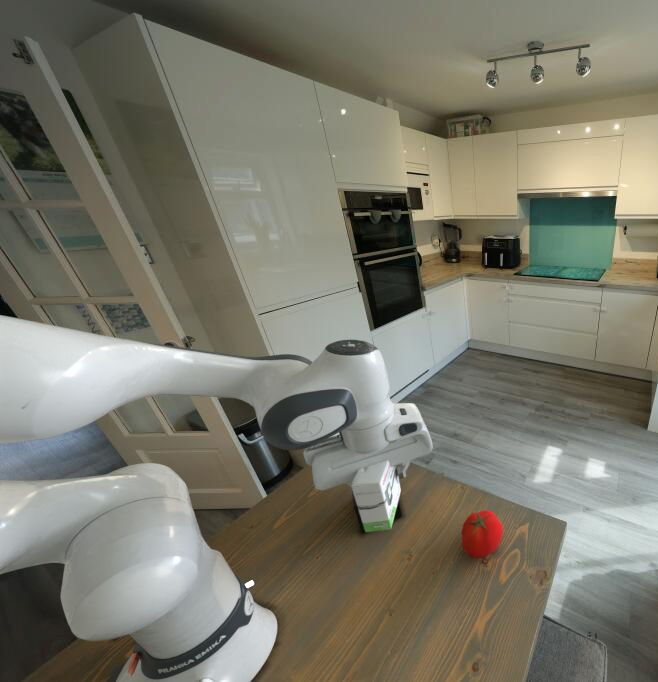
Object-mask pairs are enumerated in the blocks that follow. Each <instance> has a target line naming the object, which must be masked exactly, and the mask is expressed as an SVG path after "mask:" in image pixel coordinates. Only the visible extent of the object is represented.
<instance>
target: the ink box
mask: <svg viewBox="0 0 658 682" xmlns="http://www.w3.org/2000/svg"><path fill="white" fill-rule="evenodd" d="M396 468H397V465H395V466H392V467H390V464H389V461H388V460H387V461H384V462H381V463H378V464H375V465H371V466H368V467H367V468H364V469H363V468H362V469H359V470H358V471H357V473H356V475H355V478H354V480H353V482H352V486H351V487H350V488H351V491H353V493H352V495H353V494H354V497H355V500H356V504H357V507H358V510H359V513H360V516H361V520H362V523H363V526H364V529H365V532H366V533H371V532H381V531H388V530H392V527H393V524H394V521H395V520H394V516H395V512H396V508H397V504H398V500H399V501H400V496H401V492H402V490H401V489H402V488H401V484H400V479H398V475H397V470H396Z"/></svg>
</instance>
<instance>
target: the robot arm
mask: <svg viewBox="0 0 658 682" xmlns="http://www.w3.org/2000/svg"><path fill="white" fill-rule="evenodd" d="M390 391H391V384H390V379H389V374H388V370H387V367H386V363H385V360H384V356H383V355H382V352H381V351H380V349H379V348H378V347H377V346H375V345H374V344H373V343H370V342H368V341H367V340H366V341H365V340H359V339H341V340H337V341H336V340H335V341H334V342H331V343H328V344H327V345H326V346H325V347H324V349H323V351H322V352H321V353H320V354H319V355H318V356H317V358H315V359H314V360H313V361H311V360H310V359H309V358H307V357H305V356H302V355H299V354H298V355H297V354H293V353H292V354H290V353H283V354H281V353H280V354H272V355H267V356H266V355H263V356H244V355H237V354H229V353H222V352H215V351H210V350H203V349H195V348H188V347H181V346H175V345H168V344H159V343H152V342H151V343H150V342H144V341H143V342H142V341H137V340H133V339H126V338H120V337H116V336H108V335H103V334H97V333H93V332H89V331H88V332H87V331H82V330H78V329H73V328H69V327H63V326H58V325H53V324H48V323H43V322H39V321H32V320H29V319H24V318H18V317H13V316H7V315H1V314H0V445H1V444H14V443H15V444H16V443H25V442H33V441H43V440H48V439H49V440H50V439H53V438H56V437H59V436H62V435H67V434H69V433H71V432H73V431H76V430H78V429H82V428H83V427H85V426H87V425H90V424H91V423H94V422H95V421H98V420H99V419H100V418H102V417H104V416H105V415H107V414H109V413H110V412H112V411H114V410H116V409H118V408H120V407H122V406H125V405H127V404H129V403H132V402H135V401H138V400H142V399H146V398H151V397H155V396H156V397H157V396H188V397H204V398H205V397H208V398H224V399H225V398H226V399H227V398H228V399H237V400H241V401H242V402H245V403H247V404H249V405H250V406H251V407H253V409H254V412H255V417H256V420H257V423H258V426H259V429H260V431H261V435H262V438H263V439H264V440H265V441H266V442H267V443H268V445H270V446H272V447H274V448H276V449H279V450H282V451H283V450H284V451H300V450H304V451H303V453H302V456H303V459H304V462H305V463H306V464H307V466H309V467H311V475H312V481H313V486H314V488H315V490H318V491H321V492H323V491H326V490H330V489H332V488H335V487H338V486H341V485H344V484H346V485H347V487H350V488H352V487H351V486H352V482H353V480H354V478H355V475H356V473H357V471H358V470H359V469H362V468H363V469H364V468H367V467H368V466H371V465H375V464H378V463H381V462H384V461H387V460H388V461H389V464H390V467H392V466H395V465H396V470H397V475H398V479H399V480H402V479H404V478H407V473H406V472H407V470H408V468H409V466H410V464H411V461H413V460H415V459H419V458H421V457H424V456H427V455H429V454H431V452H432V451H433V449H434V445H433V440H432V437H431V434H430V432H429V430H428V426H427V425H426V422H425V421H424V419H423V416H422V414H421V411H420V410H419V408H418V406H417V405H416V404H415V403H413V402H410V403H409V402H407V403H406V402H400V403H399V402H393V400H392V399H391V397H390ZM340 431H341V434H339V432H340ZM398 465H399V466H398ZM195 513H196V512H195V511H194V509H193V505H192V500H191V497H190V493H189V489H188V486H187V484H186V482H185V481H184V480H183V479H182V478H181V476H180V475H179V474H178V473H176V471H174V470H173V468H171V467H169V466H167V465H164V464H161V463H157V462H156V463H155V462H142V463H135V464H130V465H126V466H124V467H120V468H117V469H116V470H112V471H111V472H109V473H106V474H99V475H92V476H81V477H73V478H60V479H58V478H57V479H40V480H39V479H38V480H34V479H33V480H18V479H17V480H15V479H0V575H3V574H5V573H9V572H12V571H17V570H20V569H25V568H30V567H34V566H35V567H36V566H39V565H44V564H45V565H46V564H54V563H56V564H62V565H64V568H63V576H62V581H61V582H62V583H61V589H60V602H61V606H62V610H63V613H64V616H65V619H66V622H67V625H68V626H69V629H70V631H71V633H72V634H73V635H74V636H75V637H76V638H78V639H81V640H83V641H88V642H101V641H103V642H104V641H109V640H114V639H117V638H118V639H119V638H121V637H125V636H130V637H131V638H132V639H133V640H134V641H135V643H134V646H133V648H132V651H131V653H132V654H131V655H130V657H128V659H127V661H126V663H124V664H121V665H118V666H115V667H114V668H113V670H112V672H111V674H110V675H109V678H108V679H107V681H106V682H252V680H253V679H254V678H255V677H256V675H257V674H258V673H259V672H260V671H261V669H262V667H263V666H264V665H265V663H266V661H267V660H268V658H269V656H270V655H271V652H272V650H273V647H274V645H275V642H276V638H277V635H278V621H277V617H276V615H275V614H274V612H273V611H272V610H271V609H269V608H266V607H264V606H261V605H260V604H258V603H257V602H255V601H254V599H253V595H252V593H251V591H250V590H249V588H250V587H252V586H254V585H255V582H254V581H253V580H250V581H248V582H246V583H245V582H244V581H243V580H242V578H241V577H240V576H239V575H237V574H235V573H234V572H233V570H232V569H231V567H230V565H229V564H228V562H227V560H226V559H225V557H224V556H223V554H222V553H221V552H220V551H218V550H216V549H214V548H213V549H212V548H211V547H210V546H209V544H208V543H207V542H206V540H205V539H204V537H203V535H202V532H201V529H200V526H199V524H198V521H197V518H196V514H195Z"/></svg>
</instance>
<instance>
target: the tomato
mask: <svg viewBox="0 0 658 682" xmlns="http://www.w3.org/2000/svg"><path fill="white" fill-rule="evenodd" d="M503 534H504V528H503V524H502V522H501V521H500V520H499V518H498V516H497V515H496V514H495V513H494V511H491V510H486V509H484V510H481V511H477V512H471V514H469V515H468V516H467V517H466V518H465V520H464V522H463V525H462V529H461V547H462V549H463V550H464V552H465V553H466V554H467V555H468V556H469V557H471V558H473V559H480V558H486V557H487V556H490V555H491V554H493V553H494V552H496V550H497V549H498V548H499V545H500V543H501V542H502V538H503Z"/></svg>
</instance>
